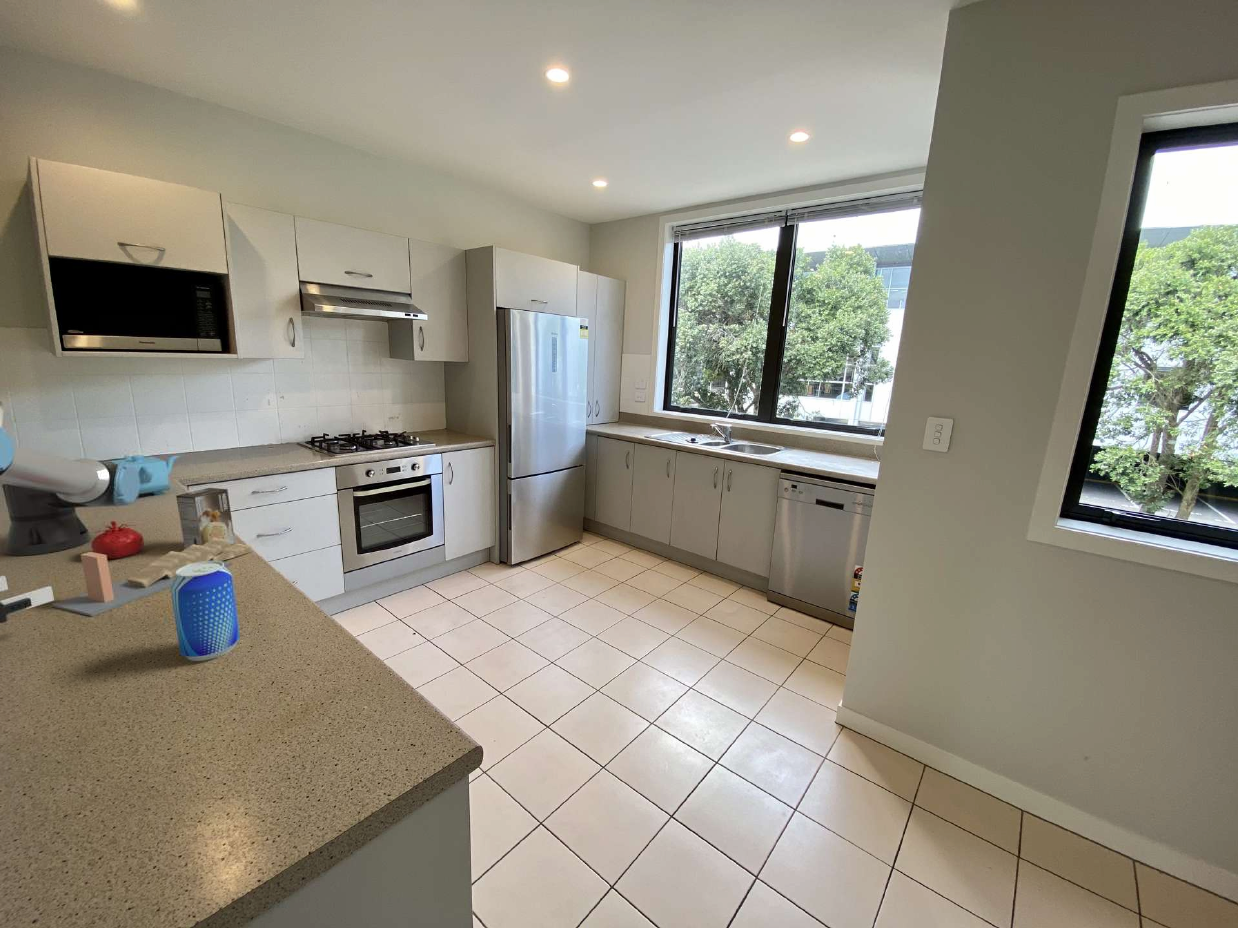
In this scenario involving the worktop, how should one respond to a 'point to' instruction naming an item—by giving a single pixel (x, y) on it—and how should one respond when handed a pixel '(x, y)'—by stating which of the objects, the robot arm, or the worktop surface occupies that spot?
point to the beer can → (204, 610)
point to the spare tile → (97, 576)
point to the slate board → (115, 597)
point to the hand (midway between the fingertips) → (28, 587)
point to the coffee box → (205, 516)
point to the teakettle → (150, 472)
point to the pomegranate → (118, 542)
